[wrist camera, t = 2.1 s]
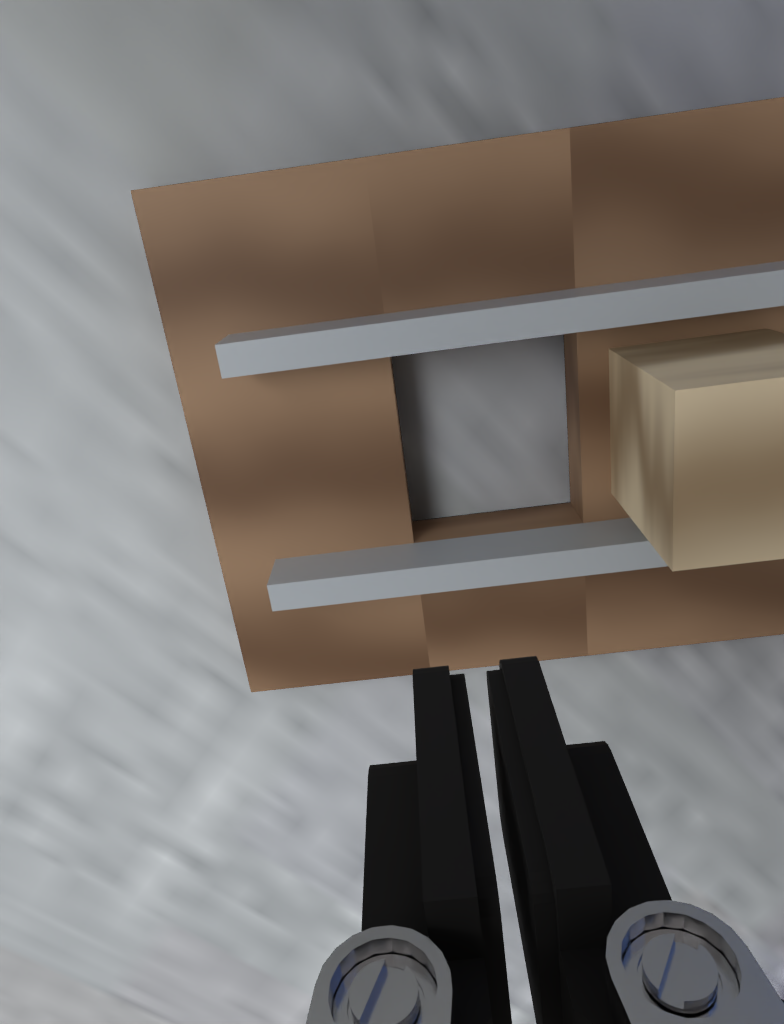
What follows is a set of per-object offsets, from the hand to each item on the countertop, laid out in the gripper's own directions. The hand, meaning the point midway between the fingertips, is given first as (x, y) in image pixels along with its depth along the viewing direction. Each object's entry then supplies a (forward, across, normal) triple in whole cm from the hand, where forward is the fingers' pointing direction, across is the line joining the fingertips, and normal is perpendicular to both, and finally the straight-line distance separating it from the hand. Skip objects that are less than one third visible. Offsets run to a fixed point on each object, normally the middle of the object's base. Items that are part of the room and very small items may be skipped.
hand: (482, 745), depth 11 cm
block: (+15, -8, 0) cm, 17 cm away
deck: (+17, -9, 0) cm, 19 cm away
